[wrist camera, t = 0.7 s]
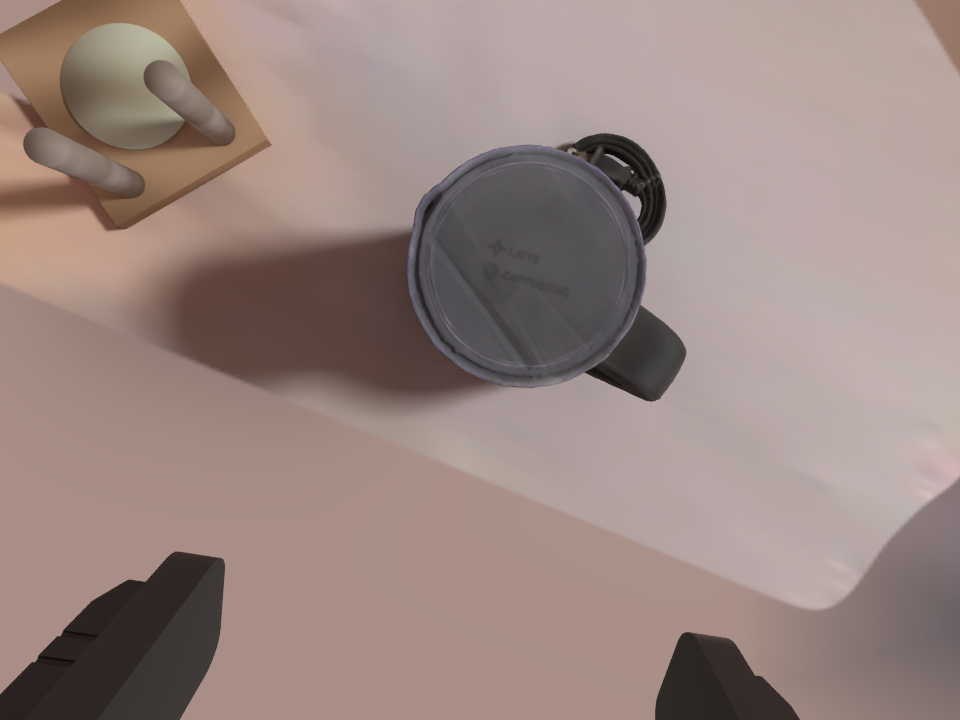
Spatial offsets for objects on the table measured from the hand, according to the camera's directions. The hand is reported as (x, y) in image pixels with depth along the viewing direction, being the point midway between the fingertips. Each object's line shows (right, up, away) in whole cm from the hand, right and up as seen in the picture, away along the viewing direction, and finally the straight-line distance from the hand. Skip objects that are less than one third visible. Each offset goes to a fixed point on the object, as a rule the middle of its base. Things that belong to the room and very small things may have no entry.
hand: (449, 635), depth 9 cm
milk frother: (+4, +12, +25) cm, 28 cm away
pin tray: (-20, +20, +21) cm, 35 cm away
